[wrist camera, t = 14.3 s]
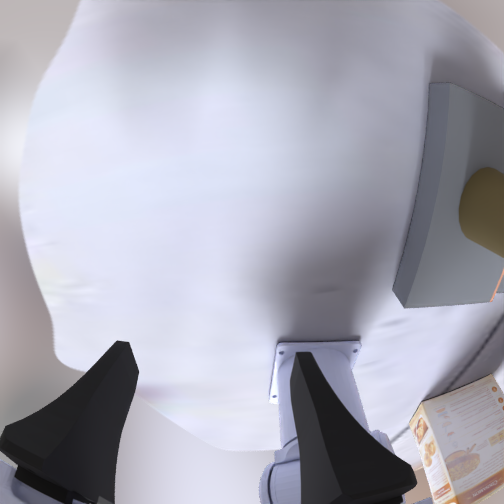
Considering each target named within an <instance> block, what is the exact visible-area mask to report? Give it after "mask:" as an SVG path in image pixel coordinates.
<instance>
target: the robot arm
mask: <svg viewBox="0 0 504 504" xmlns="http://www.w3.org/2000/svg"><path fill="white" fill-rule="evenodd" d="M361 346H362V345H361V342H360V341H343V342H303V343H279V344H278V345H277V347H276V355H275V362H274V369H273V376H272V382H271V389H270V396H269V402H270V403H272V404H279V420H280V436H281V446H282V449H280V450H277V451H275V452H274V453H275V462H272V463H270V464H269V465H267V467H266V468H265V470H264V472H263V474H262V477H261V479H260V484H259V497H260V502H261V504H406V501H405V493H406V492H408V491H410V490H411V489H413V488H414V487H415V486H416V485H417V480H416V477H415V474H414V471H413V469H412V467H411V465H410V464H408V463H406V462H405V461H403V460H402V459H400V458H399V457H397V456H396V455H395V453H394V450H393V448H392V445H391V443H390V440H389V438H388V436H387V434H386V433H383V432H380V431H379V430H374V431H372V432H370V430H369V427H368V423H367V420H366V416H365V413H364V409H363V406H362V402H361V399H360V395H359V392H358V389H357V385H356V382H355V379H354V376H353V372H352V369H353V367H354V364H355V362H356V359H357V357H358V354H359V352H360V349H361ZM354 349H355V350H354ZM280 351H283V352H280ZM138 375H139V370H138V367H137V364H136V361H135V358H134V355H133V352H132V349H131V346H130V343H129V342H124V341H116V342H115V343H114V344H113V345H112V346H111V347H110V348H109V349H108V350H107V352H106V353H105V354H104V355H103V356H102V357H101V358H100V359H99V360H98V361H97V362H96V363H95V364H94V365H93V366H92V367H91V368H90V369H89V370H88V371H87V373H86V374H85V375H84V376H82V377H81V378H80V379H79V380H78V381H77V382H76V383H75V384H74V385H73V386H72V387H71V388H69V389H68V390H67V391H66V392H65V393H63V394H62V395H61V396H60V397H58V398H57V399H56V400H54V401H53V402H51V403H50V404H48V405H47V406H45V407H44V408H42V409H41V410H39V411H37V412H35V413H33V414H32V415H30V416H28V417H26V418H24V419H22V420H19V421H17V422H14V423H12V424H10V425H7V426H5V429H4V431H3V433H2V435H1V437H0V451H1V452H2V453H4V454H5V455H6V456H7V457H9V458H10V459H11V460H12V461H13V462H15V463H16V464H17V465H18V467H17V469H15V468H14V467H13V466H11V465H9V464H8V463H6V462H5V461H3V460H1V459H0V504H89V503H90V504H115V496H114V493H115V473H116V464H117V455H118V449H119V443H120V438H121V433H122V430H123V427H124V423H125V420H126V417H127V414H128V411H129V408H130V405H131V402H132V399H133V396H134V393H135V390H136V385H137V380H138ZM413 504H433V502H432V498H430V497H429V498H426V499H424V500H422V501H419V502H416V503H413Z"/></svg>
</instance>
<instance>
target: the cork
mask: <svg viewBox="0 0 504 504" xmlns="http://www.w3.org/2000/svg"><path fill="white" fill-rule="evenodd" d="M459 223H460V227H461V230H462V232H463V233H464V235H465V236H466V238H468V239H470V240H471V241H473V242H475V243H477V244H479V245H481V246H482V247H484V248H486V249H488V250H490V251H492V252H493V253H495V254H497V255H499V256H501V257H502V258H504V174H503V173H501V172H499V171H498V170H496V169H494V168H490V167H486V168H482V169H479V170H478V171H477V172H476V173H474V174H473V175H472V176H471V178H470V179H469V181H468V182H467V183H466V185H465V188H464V190H463V193H462V195H461V199H460V204H459Z"/></svg>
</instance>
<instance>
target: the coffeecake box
mask: <svg viewBox="0 0 504 504" xmlns="http://www.w3.org/2000/svg"><path fill="white" fill-rule="evenodd" d="M409 425H410V428H411V431H412V434H413V437H414V440H415V442H416V445H417V448H418V451H419V454H420V457H421V460H422V463H423V467H424V470H425V473H426V476H427V480H428V482H429V486H430V490H431V493H432V497H433V501H434V504H478V503H480V502H481V501H483V500H485V499H487V498H488V497H489V496H491V495H493V494H494V493H496V492H497V491H499V490H500V489H502V488H503V487H504V394H503V392H502V390H501V388H500V387H499V385H498V383H497V382H496V380H495V378H494V377H493V375H492V374H490V375H488V376H486V377H484V378H482V379H480V380H478V381H475V382H473V383H471V384H468V385H466V386H464V387H461V388H459V389H456V390H454V391H451V392H449V393H446V394H443V395H440V396H438V397H435V398H432V399H429V400H426V401H423V402H421V404H420V406H419V407H418V409H417V411H416V413H415V414H414V416H413V417H412V419H411V421H410V422H409Z"/></svg>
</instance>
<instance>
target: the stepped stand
mask: <svg viewBox="0 0 504 504" xmlns="http://www.w3.org/2000/svg"><path fill="white" fill-rule="evenodd" d="M486 167H490V168H494V169H496V170H498V171H499V172H501V173H503V174H504V108H502V107H500V106H498V105H496V104H495V103H493V102H491V101H489V100H487V99H485V98H483V97H481V96H479V95H477V94H475V93H473V92H471V91H468V90H466V89H464V88H462V87H460V86H457V85H455V84H453V83H450V82H446V83H430V84H429V104H428V118H427V129H426V138H425V147H424V155H423V162H422V168H421V175H420V181H419V186H418V192H417V197H416V202H415V207H414V212H413V216H412V221H411V225H410V229H409V233H408V237H407V241H406V245H405V249H404V253H403V256H402V260H401V264H400V267H399V270H398V274H397V277H396V280H395V284H394V287H393V292H394V293H395V295H396V296H397V298H398V299H399V301H400V303H401V304H402V306H403V307H404V308H421V307H437V306H451V305H463V304H475V303H485V302H492V300H493V298H494V296H495V294H496V293H504V258H502V257H501V256H499V255H497V254H495V253H493V252H492V251H490V250H488V249H486V248H484V247H482V246H481V245H479V244H477V243H475V242H473V241H471V240H470V239H468V238H466V236H465V235H464V233H463V232H462V230H461V227H460V223H459V204H460V199H461V195H462V193H463V190H464V188H465V185H466V183H467V182H468V181H469V179H470V178H471V176H472V175H473V174H474V173H476V172H477V171H478V170H479V169H482V168H486Z"/></svg>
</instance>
